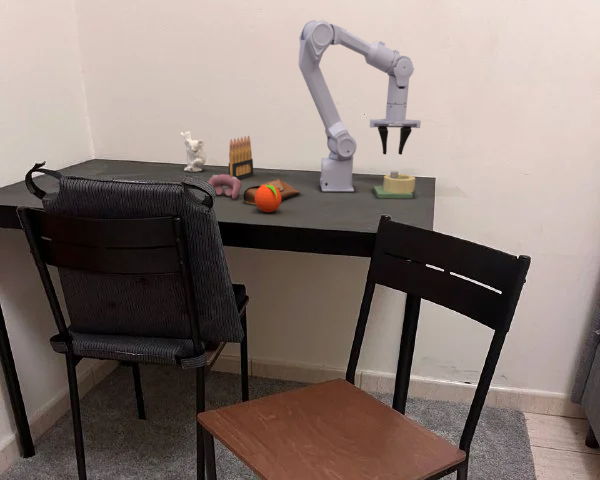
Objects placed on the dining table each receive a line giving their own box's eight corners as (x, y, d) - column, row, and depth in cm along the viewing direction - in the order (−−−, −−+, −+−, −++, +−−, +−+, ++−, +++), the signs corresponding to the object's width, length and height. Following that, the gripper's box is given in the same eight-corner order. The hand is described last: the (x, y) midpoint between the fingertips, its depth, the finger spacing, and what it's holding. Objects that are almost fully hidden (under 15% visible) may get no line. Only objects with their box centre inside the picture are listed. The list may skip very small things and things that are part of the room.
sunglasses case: (268, 205, 165) (257, 181, 163) (250, 215, 169) (239, 192, 168) (302, 192, 178) (292, 170, 176) (284, 202, 182) (274, 180, 181)
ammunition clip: (233, 181, 192) (231, 139, 186) (228, 180, 193) (226, 139, 186) (253, 175, 200) (252, 135, 193) (249, 174, 200) (247, 134, 194)
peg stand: (378, 198, 176) (379, 175, 172) (373, 190, 184) (374, 168, 181) (412, 198, 176) (415, 175, 173) (406, 190, 185) (408, 168, 181)
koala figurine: (177, 171, 203) (174, 131, 197) (191, 167, 208) (188, 129, 202) (197, 174, 200) (194, 134, 193) (210, 170, 205) (208, 131, 198)
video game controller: (240, 203, 175) (244, 177, 174) (234, 198, 170) (238, 173, 170) (209, 199, 177) (212, 175, 177) (202, 195, 173) (206, 170, 172)
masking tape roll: (385, 193, 176) (386, 180, 174) (381, 186, 183) (382, 173, 181) (416, 193, 176) (417, 180, 174) (410, 186, 183) (411, 174, 182)
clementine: (288, 214, 159) (288, 185, 156) (265, 217, 156) (265, 189, 153) (272, 207, 165) (272, 179, 161) (250, 210, 162) (249, 182, 158)
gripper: (373, 104, 172) (369, 156, 179) (424, 105, 173) (419, 156, 180) (370, 101, 178) (366, 151, 185) (419, 102, 179) (414, 152, 186)
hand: (392, 153), depth 183 cm, fingers open, 4 cm apart
